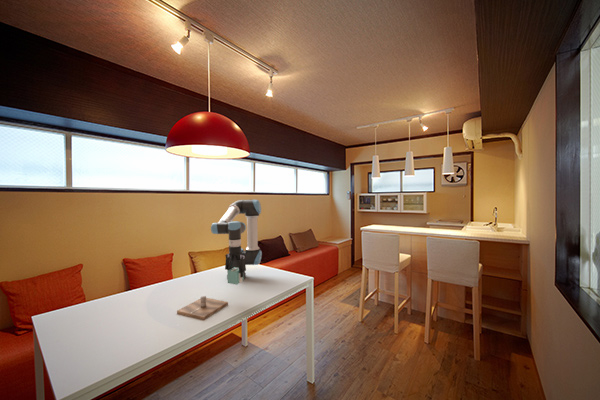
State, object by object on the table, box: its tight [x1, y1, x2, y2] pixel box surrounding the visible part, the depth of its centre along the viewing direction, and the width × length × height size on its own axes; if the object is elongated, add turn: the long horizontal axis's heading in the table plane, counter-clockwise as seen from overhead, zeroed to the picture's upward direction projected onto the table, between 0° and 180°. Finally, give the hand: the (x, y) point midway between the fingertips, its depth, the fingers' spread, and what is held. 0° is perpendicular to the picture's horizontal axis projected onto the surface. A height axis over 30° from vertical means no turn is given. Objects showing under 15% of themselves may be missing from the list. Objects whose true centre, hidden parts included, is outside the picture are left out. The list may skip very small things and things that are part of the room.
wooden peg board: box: [176, 295, 229, 320], centre depth 142 cm, size 20×20×7 cm
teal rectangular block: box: [226, 267, 245, 285], centre depth 152 cm, size 7×7×9 cm
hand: (235, 281), depth 152 cm, fingers closed on teal rectangular block, 7 cm apart
